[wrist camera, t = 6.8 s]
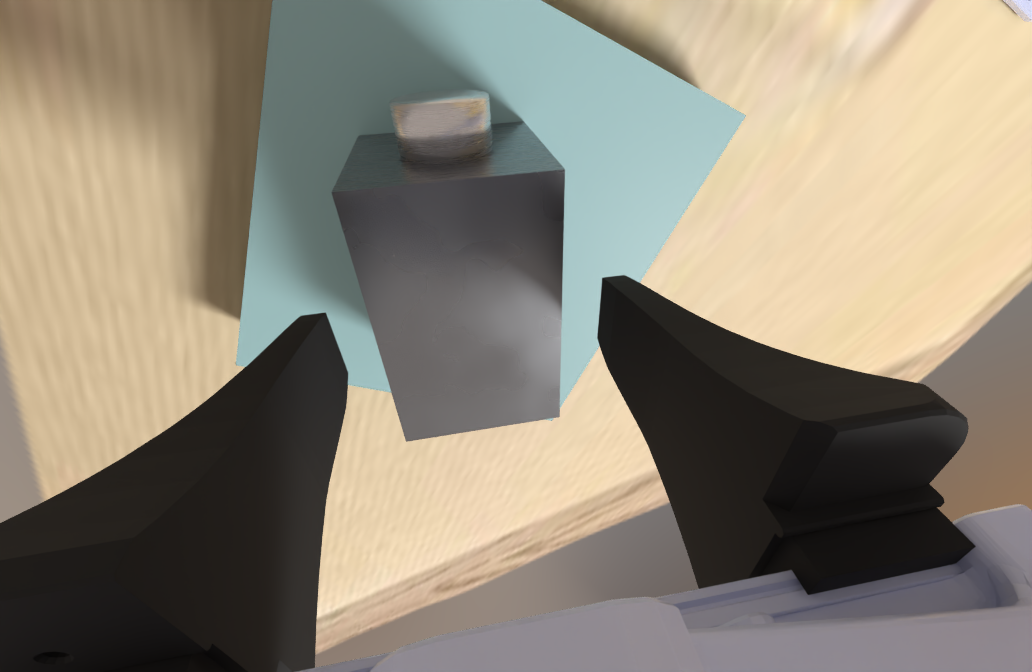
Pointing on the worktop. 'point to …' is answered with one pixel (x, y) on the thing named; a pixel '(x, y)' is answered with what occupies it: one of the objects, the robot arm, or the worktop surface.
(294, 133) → the stand
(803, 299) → the worktop surface
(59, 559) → the robot arm
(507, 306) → the housing
